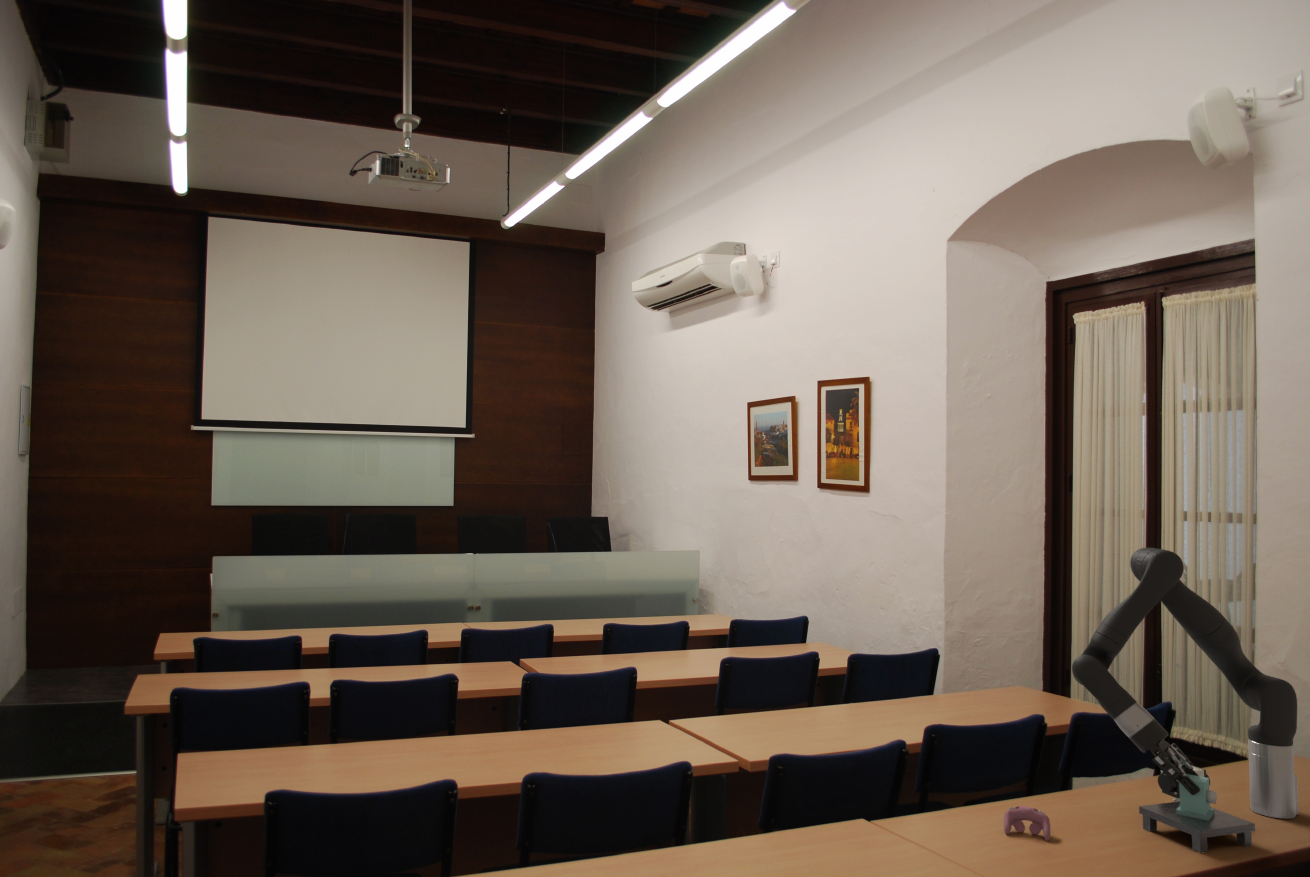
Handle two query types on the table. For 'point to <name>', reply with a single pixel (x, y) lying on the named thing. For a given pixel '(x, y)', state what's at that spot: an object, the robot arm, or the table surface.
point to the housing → (1197, 800)
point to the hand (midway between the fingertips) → (1199, 789)
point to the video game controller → (1030, 814)
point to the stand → (1197, 824)
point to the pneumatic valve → (1176, 783)
